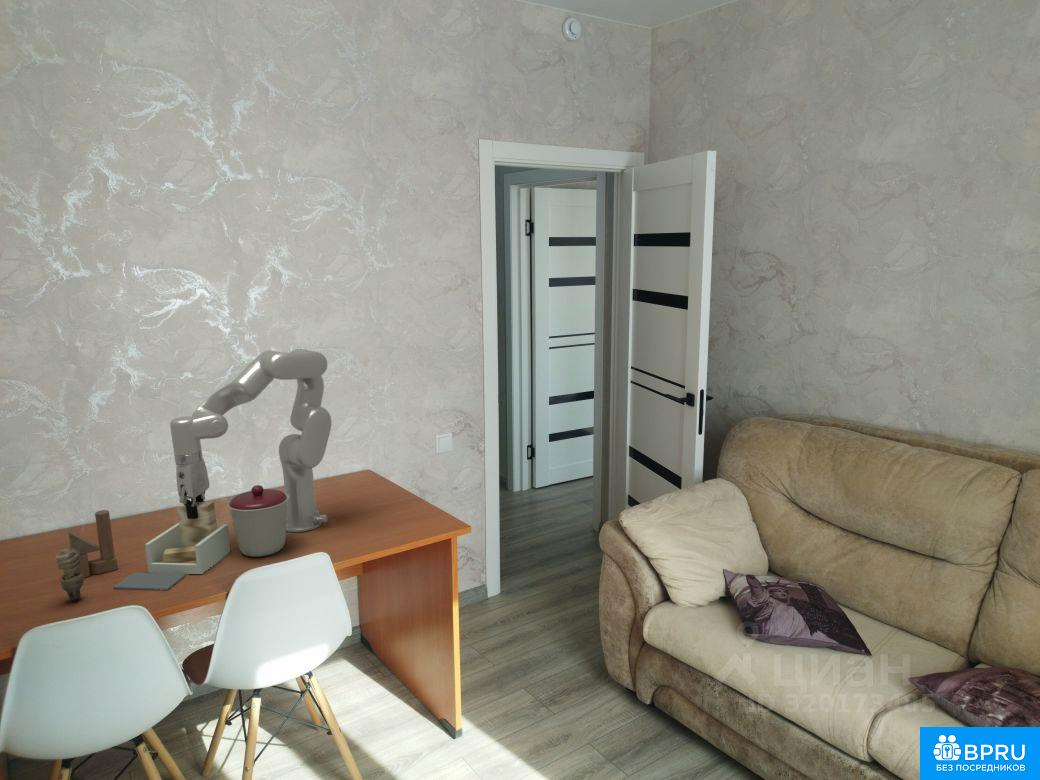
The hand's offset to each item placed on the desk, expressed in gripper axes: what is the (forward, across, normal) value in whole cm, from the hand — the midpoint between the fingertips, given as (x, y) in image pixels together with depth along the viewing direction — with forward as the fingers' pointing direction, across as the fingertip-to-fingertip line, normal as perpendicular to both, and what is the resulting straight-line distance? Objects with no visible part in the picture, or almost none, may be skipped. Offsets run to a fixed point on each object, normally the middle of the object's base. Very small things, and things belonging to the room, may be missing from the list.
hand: (196, 515), depth 222 cm
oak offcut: (+10, -9, 0) cm, 14 cm away
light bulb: (+12, -31, +19) cm, 38 cm away
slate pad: (+13, -19, +5) cm, 23 cm away
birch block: (+9, 0, 0) cm, 9 cm away
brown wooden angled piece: (+13, -14, +25) cm, 31 cm away
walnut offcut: (+13, -10, 0) cm, 17 cm away
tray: (+13, -4, +1) cm, 14 cm away
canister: (+14, +5, -17) cm, 23 cm away
